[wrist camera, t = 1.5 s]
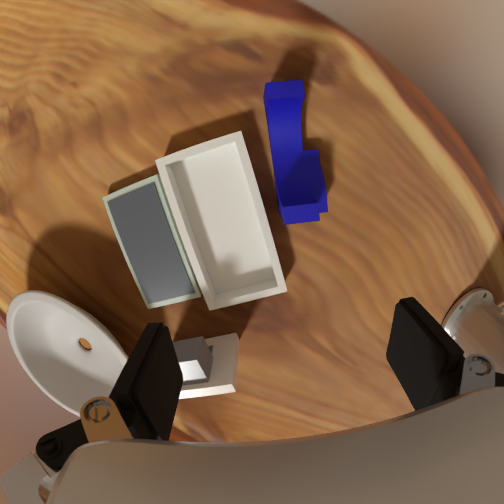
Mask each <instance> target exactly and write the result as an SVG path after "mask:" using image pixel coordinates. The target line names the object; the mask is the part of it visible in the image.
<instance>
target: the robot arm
mask: <svg viewBox="0 0 504 504" xmlns="http://www.w3.org/2000/svg"><path fill="white" fill-rule="evenodd" d="M386 357H387V360H388V362H389V364H390V366H391V368H392V369H393V371H394V373H395V375H396V376H397V378H398V380H399V382H400V383H401V385H402V387H403V389H404V391H405V392H406V394H407V396H408V398H409V400H410V402H411V404H412V405H413V407H414V409H415V411H414V412H411V413H408V414H405V415H401V416H398V417H395V418H391V419H388V420H384V421H381V422H377V423H373V424H369V425H365V426H361V427H356V428H352V429H347V430H342V431H337V432H332V433H326V434H320V435H314V436H307V437H300V438H291V439H282V440H271V441H257V442H232V443H209V442H179V441H169V437H170V432H171V428H172V424H173V420H174V416H175V412H176V408H177V404H178V400H179V396H180V392H181V388H182V384H183V374H182V371H181V368H180V365H179V362H178V358H177V355H176V352H175V349H174V346H173V342H172V339H171V336H170V332H169V329H168V327H167V326H164V325H163V323H148V325H147V326H146V328H145V330H144V332H143V334H142V335H141V337H140V339H139V341H138V343H137V345H136V347H135V349H134V350H133V352H132V354H131V355H130V356H129V358H128V360H127V362H126V364H125V365H124V367H123V369H122V371H121V373H120V375H119V377H118V379H117V381H116V383H115V385H114V387H113V389H112V391H111V393H110V395H109V397H104V396H99V397H94V398H92V399H90V400H88V401H87V402H86V403H84V404H83V406H82V408H81V410H80V418H81V419H80V420H77V421H75V422H73V423H71V424H68V425H67V426H64V427H62V428H59V429H57V430H55V431H52V432H50V433H48V434H46V435H44V436H42V437H41V438H40V439H39V441H38V443H37V445H36V453H35V454H33V453H32V452H30V453H29V454H28V455H26V456H25V457H24V458H22V459H21V460H20V461H19V462H17V463H16V464H15V465H13V466H12V467H11V468H9V469H8V470H7V471H5V472H4V473H3V475H2V476H1V479H0V485H1V488H2V490H3V492H4V494H5V496H6V497H7V499H8V501H9V503H10V504H504V305H503V306H501V307H498V306H497V305H496V304H495V301H494V297H493V295H492V294H491V293H490V292H489V291H488V290H487V289H484V288H476V289H473V290H471V291H469V292H468V293H466V294H465V295H463V296H462V297H461V298H460V299H459V300H458V301H457V302H456V303H455V304H454V305H453V307H452V308H451V309H450V311H449V312H448V314H447V316H446V317H445V319H444V321H443V323H442V326H441V325H440V324H439V323H438V322H437V321H436V320H435V319H434V318H433V317H432V316H431V315H430V314H429V313H428V311H427V310H426V309H425V308H424V307H423V306H422V305H421V304H420V303H419V302H418V301H417V300H416V299H415V298H414V297H409V298H403V299H400V301H399V303H397V304H396V306H395V312H394V318H393V323H392V328H391V333H390V338H389V343H388V348H387V352H386Z"/></svg>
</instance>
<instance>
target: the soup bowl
mask: <svg viewBox="0 0 504 504" xmlns="http://www.w3.org/2000/svg"><path fill="white" fill-rule="evenodd" d="M6 321H7V331H8V336H9V339H10V342H11V345H12V347H13V350H14V352H15V354H16V356H17V358H18V360H19V361H20V364H21V365H22V367H23V368H24V370H25V371H26V372H27V374H28V375H29V376H30V378H31V379H32V380H33V381H34V383H35V384H36V385H37V386H38V387H39V388H40V389H41V390H42V391H43V392H44V393H45V394H46V395H47V396H49V397H50V398H51V399H52V400H53V401H55V402H56V403H57V404H59V405H60V406H62V407H64V408H65V409H67V410H68V411H70V412H71V413H73V414H75V415H77V416H79V417H80V410H81V408H82V406H83V404H84V403H86V402H87V401H88V400H90V399H92V398H94V397H99V396H104V397H109V395H110V393H111V391H112V389H113V387H114V385H115V383H116V381H117V379H118V377H119V375H120V373H121V371H122V369H123V367H124V365H125V364H126V362H127V360H128V358H129V357H128V356H127V354H126V353H125V352H124V350H123V348H122V347H121V345H120V344H119V342H118V341H117V340H116V338H115V337H114V336H113V335H112V333H111V332H110V331H109V330H108V329H107V328H106V327H105V326H104V325H103V324H102V323H101V322H100V321H98V320H97V319H96V318H95V317H94V316H92V315H91V314H89V313H88V312H86V311H85V310H83V309H82V308H80V307H78V306H76V305H74V304H72V303H70V302H68V301H67V300H65V299H63V298H61V297H59V296H56V295H54V294H51V293H48V292H44V291H40V290H28V291H24V292H22V293H19V294H18V295H17V296H15V297H14V298H13V300H12V301H11V303H10V305H9V307H8V311H7V318H6ZM80 338H84V339H86V340H87V341H88V342H89V343H90V344H91V347H92V349H91V350H86V349H84V348H83V347H82V346H81V345H80V343H79V339H80Z"/></svg>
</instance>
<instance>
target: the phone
mask: <svg viewBox="0 0 504 504" xmlns="http://www.w3.org/2000/svg"><path fill="white" fill-rule="evenodd" d="M102 198H103V201H104V204H105V207H106V210H107V212H108V215H109V218H110V221H111V224H112V226H113V229H114V232H115V234H116V237H117V240H118V242H119V245H120V247H121V250H122V252H123V255H124V257H125V259H126V262H127V264H128V267H129V269H130V271H131V273H132V276H133V278H134V280H135V283H136V285H137V287H138V289H139V291H140V293H141V296H142V298H143V300H144V302H145V304H146V306H147V308H148V309H151V308H156V307H160V306H164V305H169V304H173V303H177V302H181V301H186V300H190V299H194V298H198V297H201V296H202V291H201V289H200V286H199V283H198V281H197V278H196V276H195V273H194V271H193V268H192V266H191V263H190V260H189V258H188V255H187V252H186V250H185V247H184V244H183V241H182V239H181V236H180V233H179V230H178V228H177V225H176V222H175V219H174V216H173V213H172V211H171V208H170V205H169V202H168V199H167V196H166V193H165V190H164V187H163V184H162V181H161V178H160V174H157V175H154V176H151V177H149V178H146V179H144V180H141V181H139V182H137V183H134V184H132V185H129V186H127V187H125V188H122V189H120V190H118V191H116V192H113V193H111V194H109V195H107V196H105V197H102Z"/></svg>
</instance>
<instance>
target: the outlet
mask: <svg viewBox="0 0 504 504" xmlns="http://www.w3.org/2000/svg"><path fill="white" fill-rule="evenodd" d="M173 346H174V349H175V352H176V355H177V358H178V362H179V365H180V368H181V371H182V374H183V384H182V388H181V392H180V396H179V399H182V398H192V397H201V396H209V395H217V394H224V393H230V392H236V380H237V366H238V352H239V337H238V335H237V332H236V333H231V334H227V335H222V336H217V337H212V338H207V339H204V337H203V336H201V337H195V338H190V339H185V340H180V341H174V342H173Z"/></svg>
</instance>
